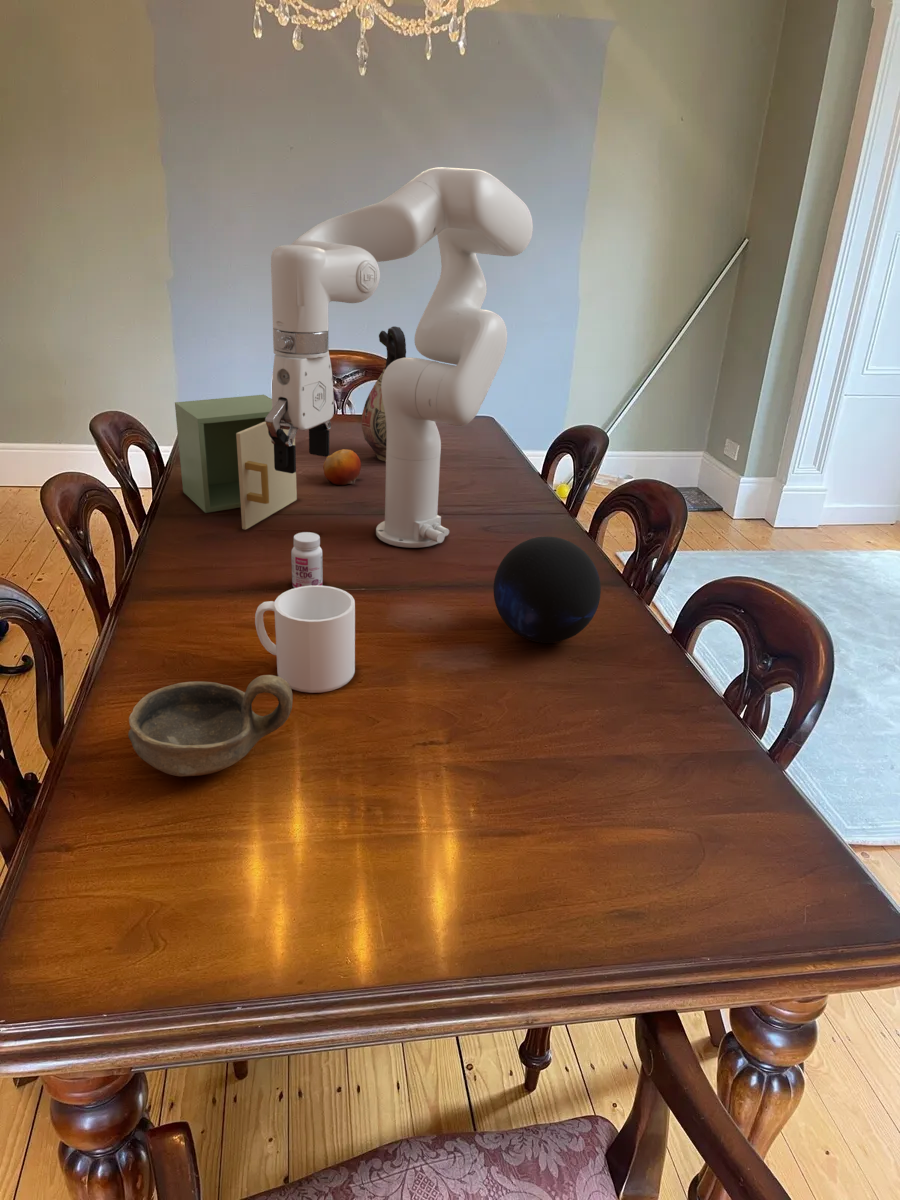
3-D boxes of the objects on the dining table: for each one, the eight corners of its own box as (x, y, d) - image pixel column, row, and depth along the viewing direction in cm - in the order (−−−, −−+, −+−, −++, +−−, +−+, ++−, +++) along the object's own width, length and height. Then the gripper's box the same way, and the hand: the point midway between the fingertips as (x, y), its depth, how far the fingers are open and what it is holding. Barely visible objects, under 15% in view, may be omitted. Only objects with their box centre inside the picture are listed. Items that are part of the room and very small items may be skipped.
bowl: (147, 720, 98) (137, 647, 93) (298, 719, 99) (296, 647, 95) (116, 798, 85) (103, 718, 81) (289, 795, 87) (286, 716, 83)
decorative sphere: (614, 640, 121) (629, 545, 114) (548, 674, 112) (560, 573, 105) (535, 602, 131) (545, 513, 124) (468, 631, 121) (475, 536, 114)
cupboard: (293, 499, 166) (291, 409, 158) (205, 513, 157) (197, 418, 149) (267, 480, 176) (264, 394, 168) (183, 492, 166) (174, 402, 158)
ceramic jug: (355, 449, 199) (355, 318, 185) (417, 447, 203) (422, 318, 190) (370, 471, 184) (372, 331, 171) (437, 468, 189) (443, 331, 175)
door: (315, 503, 164) (313, 414, 156) (265, 534, 149) (260, 437, 141) (293, 499, 166) (290, 410, 158) (242, 529, 151) (235, 433, 143)
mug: (358, 654, 114) (358, 587, 109) (350, 695, 105) (350, 623, 100) (266, 650, 113) (262, 582, 109) (250, 691, 104) (245, 618, 100)
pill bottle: (294, 593, 129) (292, 543, 125) (290, 580, 133) (289, 531, 129) (324, 591, 130) (324, 541, 126) (320, 578, 134) (319, 530, 130)
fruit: (367, 482, 173) (347, 449, 170) (335, 499, 175) (315, 466, 172) (371, 470, 180) (352, 438, 177) (340, 487, 182) (321, 455, 179)
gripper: (292, 354, 106) (294, 483, 114) (354, 338, 121) (352, 453, 129) (241, 347, 109) (247, 474, 116) (308, 332, 123) (309, 445, 131)
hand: (302, 463), depth 122 cm, fingers open, 9 cm apart
